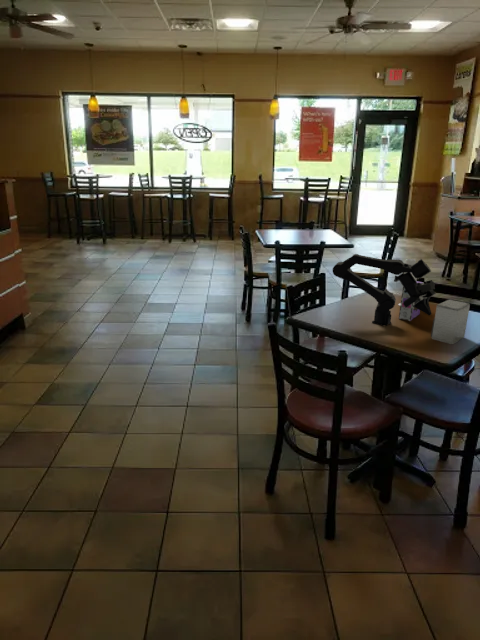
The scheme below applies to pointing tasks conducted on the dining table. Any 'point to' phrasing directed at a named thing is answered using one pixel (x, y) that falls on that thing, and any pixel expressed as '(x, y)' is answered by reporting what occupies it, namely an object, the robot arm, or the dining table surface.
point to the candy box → (410, 311)
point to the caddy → (450, 321)
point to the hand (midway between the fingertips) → (430, 314)
